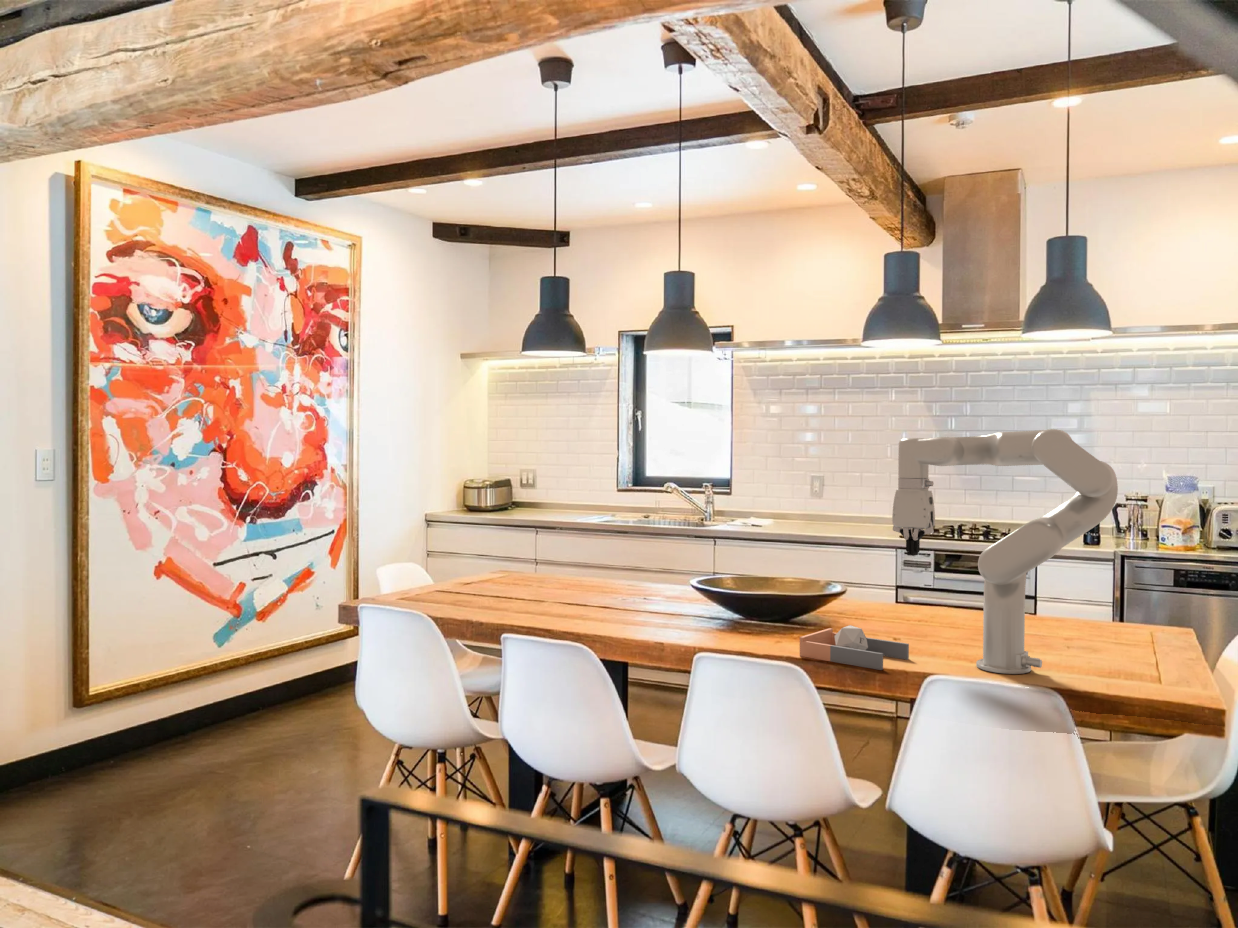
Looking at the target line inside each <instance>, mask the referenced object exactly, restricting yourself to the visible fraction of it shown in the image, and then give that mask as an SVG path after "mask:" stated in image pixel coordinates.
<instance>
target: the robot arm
mask: <svg viewBox="0 0 1238 928" xmlns="http://www.w3.org/2000/svg"><path fill="white" fill-rule="evenodd" d="M973 465H974V466H977V465H982V466H983V465H985V466H987V465H988V466H990V465H991V466H995V467H996V466H997V467H1009V466H1010V467H1013V466H1014V467H1015V466H1016V467H1018V466H1019V467H1020V466H1044V467H1046V468H1047V469H1048V470H1049V471H1050V472H1051V473H1052V474H1054V475H1056V477H1057V478H1059V479H1060V480H1061V481H1063V482H1064V483H1066V484H1067V485H1068V486H1069V487H1071V488H1072V489H1073V490H1075V492H1076V493H1074V495H1073V496H1072V497H1070V498H1069V499H1067V500H1066V501H1065V502H1063V503H1061V504H1060V505H1058V506H1057V507H1055V508H1054V509H1052V510H1050V511H1049V512H1047V513H1046V514H1044V515H1042V516H1040V517H1039V518H1038V517H1037V518H1036V519H1033V520H1030V521H1029V522H1027V523H1025V524H1023V525H1022V526H1020V527H1018V528H1017V529H1015V530H1014V531H1012V532H1011V533H1009V534H1007V535H1006V536H1005V537H1002V538H1001V539H999V540H998V541H996V542H994V543H993V544H992V545H990V546H988V547H986V548H985V549H984V550H983V551H982V552H981V553H980V555H979V557H978V560H977V569H978V572H979V574H980V576H981V577H982V578H983V581H984V584H983V618H982V619H983V620H982V621H983V622H982V623H983V624H982V625H983V626H982V627H983V628H982V630H983V634H982V635H983V637H982V639H983V640H982V641H983V644H982V645H983V646H982V658H980V659H977V660H976V662H975V663H976V665H975V667H977V668H978V669H980V670H982V671H986V672H989V673H996V674H1005V675H1006V674H1007V675H1018V674H1019V675H1023V674H1028V673H1030V672H1031V671H1032V667H1034V668H1040V669H1041V668H1042V666H1043V661H1042V659H1041V658H1038V657H1030V656H1029V651H1027V650H1025V632H1026V631H1025V621H1026V619H1025V616H1026V615H1025V611H1026V610H1025V608H1026V583H1027V582H1026V581H1027V573H1028V572H1031V571H1033V569H1035V568H1037V567H1039V566H1040V565H1042V564H1043V563H1045V562H1047V561H1049V560H1050V559H1051V558H1053V557H1054V556H1055V555H1056V554H1058V553H1059V552H1060V551H1061V550H1062V549H1064V547H1065V546H1067V545H1069V544H1070V543H1072V542H1073V541H1075V540H1076V539H1078V538H1080V537H1081V536H1083V535H1085V534H1086V533H1088V532H1089V531H1090V530H1092V529H1093V528H1096V526H1098V525H1099V524H1100V523H1102V522H1103V520H1105V519H1106V518H1107V517H1108V516H1109V515H1110V513H1111V512H1112V510H1113V509H1114V507H1115V505H1116V503H1117V497H1118V493H1119V489H1118V487H1119V486H1118V478H1117V475H1116V472H1115V470H1114V468H1112V466H1111V465H1110V464H1109V463H1107V462H1104V461H1102V460H1099V459H1098V458H1097V457H1095V456H1093V455H1092V453H1090V452H1088V451H1087V450H1086V449H1084V447H1082V446H1080V445H1079V444H1078V443H1076V442H1075V440H1073V439H1072V437H1071V436H1070V434H1068V433H1067V432H1065V431H1064V430H1062V429H1058V428H1057V429H1055V428H1049V429H1041V430H1040V429H1039V430H1022V431H1021V430H1020V431H1001V432H995V433H991V434H987V435H975V436H953V437H952V436H938V437H931V438H924V437H904V438H901V439H900V440H899V442H898V465H897V467H898V469H897V470H898V475H897V476H898V484H897V485H898V487H897V488H898V489H896V490H895V492H894V493H895V494H894V498H893V504H892V517H891V519H892V520H891V521H892V525H893V526H892V531H893V532H896V533H898V534H899V533H900V534H901V536H903V538H904V540H905V551H906V554H907V556H918V555H919V552H920V549H921V548H920V544H921V543H920V541H921V540H922V538H923V537H924V536H925V535H928V534H929V535H931V534H934V532H935V531H934V527H935V525H936V509H935V501H934V496H933V491H932V490H929V488H930V487H934V481H933V480H930V478H929V466H936V467H948V466H949V467H950V466H951V467H952V466H954V467H955V466H973Z"/></svg>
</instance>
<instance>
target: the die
mask: <svg viewBox="0 0 1238 928" xmlns="http://www.w3.org/2000/svg"><path fill="white" fill-rule="evenodd" d="M836 633H837V634H836V635H835V643H836V646H840V647H846V648H853V649H859V650H866V649H867V648H868V645H867V640H866V637H867V636H866V635H865V633H864V630H863V628H861V627H857V626H853V625H847V626H844V627H841V628H840V629H839V630H838V632H836Z"/></svg>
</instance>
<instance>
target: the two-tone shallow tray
mask: <svg viewBox="0 0 1238 928" xmlns="http://www.w3.org/2000/svg"><path fill="white" fill-rule="evenodd" d="M837 633H838V632H834V630H833V628H831V627H829V628H826V629H823V630H819V631H816V632H813V633H809V634H806V635H802V636H799V657H803V658H808V659H809V658H811V659H816V660H821V661H827V662H833V663H837V664H844V665H850V666H854V667H855V666H856V667H862V668H866V669H867V668H868V669H872V670H879V671H882V670H884V657H888V658H895V659H899V660H900V659H901V660H906V661H907V660H909V659H910V658H909V657H910V656H909V655H910V652H909V651H910V647H909V646H910V644H909V643H906V642H901V641H900V642H899V641H893V640H887V639H879V638H874V637H873V638H871V637H867V636H866V640H867V645H868V648H867V649H866V650H859V649H853V648H846V647H840V646H836V643H835V635H836V634H837Z"/></svg>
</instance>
